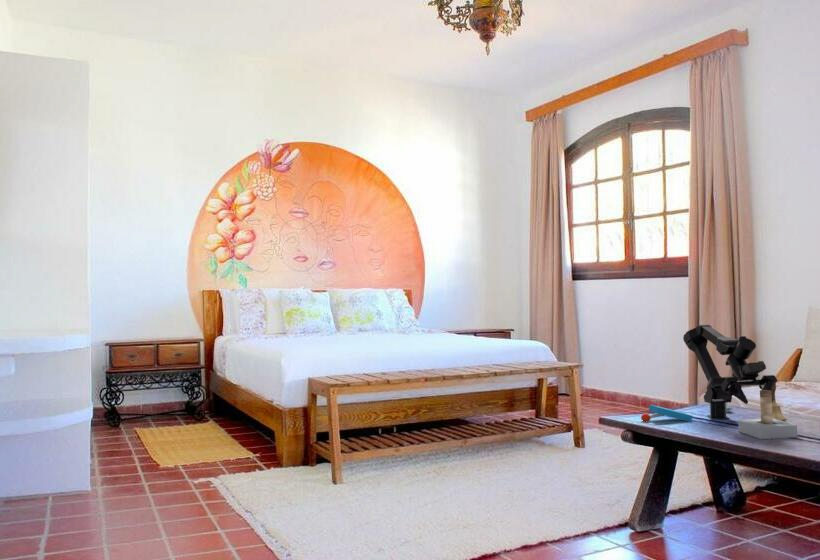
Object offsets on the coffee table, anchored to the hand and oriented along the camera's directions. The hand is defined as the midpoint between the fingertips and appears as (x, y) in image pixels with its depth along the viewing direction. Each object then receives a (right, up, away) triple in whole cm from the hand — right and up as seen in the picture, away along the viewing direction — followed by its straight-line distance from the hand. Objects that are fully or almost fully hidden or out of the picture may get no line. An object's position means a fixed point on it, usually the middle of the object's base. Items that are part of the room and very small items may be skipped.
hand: (759, 402), depth 242 cm
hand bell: (+17, -10, +23) cm, 30 cm away
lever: (-24, -12, +25) cm, 37 cm away
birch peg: (+1, -10, -4) cm, 11 cm away
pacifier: (+6, -11, +41) cm, 43 cm away
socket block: (+1, -10, -4) cm, 11 cm away
